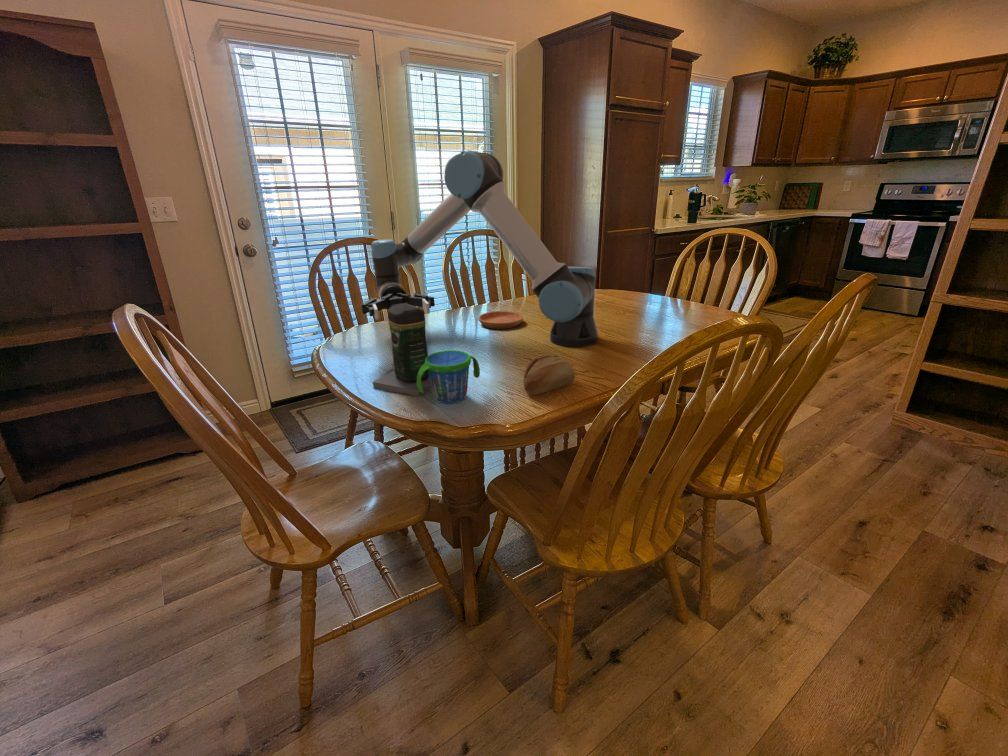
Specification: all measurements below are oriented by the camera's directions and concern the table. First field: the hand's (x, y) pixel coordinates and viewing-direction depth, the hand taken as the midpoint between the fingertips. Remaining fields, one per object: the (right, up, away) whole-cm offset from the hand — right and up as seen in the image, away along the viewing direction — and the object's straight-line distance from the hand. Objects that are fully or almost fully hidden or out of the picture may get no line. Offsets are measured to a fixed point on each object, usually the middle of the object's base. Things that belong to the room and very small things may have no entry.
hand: (403, 311), depth 125 cm
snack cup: (+14, -23, -14) cm, 30 cm away
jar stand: (+3, -19, -4) cm, 20 cm away
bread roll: (+38, -20, -10) cm, 44 cm away
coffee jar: (+3, -17, -5) cm, 18 cm away
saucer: (+26, +1, +44) cm, 51 cm away
